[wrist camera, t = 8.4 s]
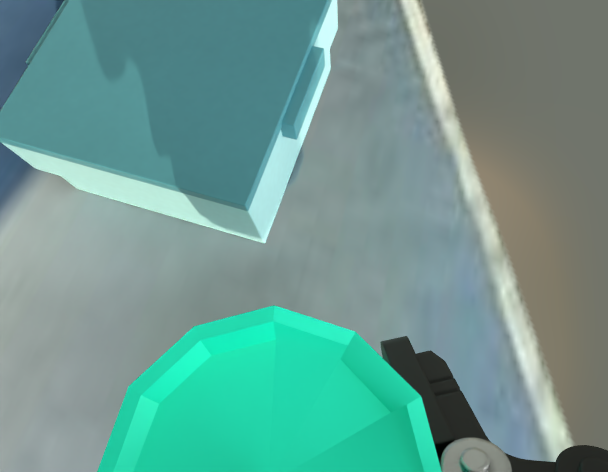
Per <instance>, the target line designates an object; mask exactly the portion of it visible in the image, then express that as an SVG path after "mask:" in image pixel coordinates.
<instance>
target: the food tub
mask: <svg viewBox="0 0 608 472" xmlns="http://www.w3.org/2000/svg"><path fill="white" fill-rule="evenodd" d="M337 29H338V18H337V0H64V1H63V3H62V5H61V6H60V8H59V9H58V11H57V13H56V14H55V16H54V17H53V19H52V21H51V22H50V24H49V25H48V27H47V29H46V30H45V32H44V33H43V35H42V37H41V38H40V40H39V41H38V43H37V45H36V46H35V48H34V49H33V51H32V52H31V54H30V56H29V57H28V59H27V60H26V63H27V64H28V67H27V69H26V70H25V72H24V73H23V75H22V77H21V78H20V80H19V81H18V83H17V85H16V86H15V88H14V90H13V91H12V93H11V94H10V96H9V98H8V99H7V101H6V102H5V104H4V106H3V107H2V109H1V110H0V142H1V143H3V144H4V145H5V146H7V147H8V148H9V149H11V150H12V151H13V152H14V153H16V154H17V155H18V156H20V157H21V158H22V159H24V160H25V161H26V162H28V163H29V164H30V165H32V166H33V167H34V168H35V169H38V170H42V171H45V172H49V173H52V174H56V175H59V176H61V177H63V178H64V179H65V180H66V181H68V182H69V183H70V184H71V185H73V186H74V187H75V188H76V189H79V190H82V191H86V192H89V193H93V194H96V195H100V196H103V197H106V198H110V199H113V200H117V201H120V202H124V203H127V204H130V205H134V206H137V207H141V208H144V209H148V210H151V211H155V212H158V213H161V214H165V215H168V216H172V217H175V218H179V219H182V220H185V221H189V222H192V223H196V224H199V225H203V226H206V227H209V228H213V229H216V230H220V231H223V232H227V233H230V234H233V235H237V236H240V237H244V238H247V239H251V240H254V241H258V242H261V243H265V242H266V239H267V237H268V234H269V231H270V229H271V226H272V223H273V221H274V218H275V215H276V213H277V210H278V207H279V205H280V202H281V200H282V197H283V194H284V192H285V189H286V186H287V184H288V181H289V178H290V176H291V173H292V170H293V168H294V165H295V162H296V160H297V157H298V154H299V152H300V149H301V146H302V144H303V141H304V138H305V136H306V133H307V130H308V128H309V125H310V122H311V120H312V117H313V114H314V112H315V109H316V106H317V104H318V101H319V98H320V96H321V93H322V91H323V88H324V85H325V83H326V80H327V77H328V75H329V72H330V69H331V65H330V47H331V45H332V42H333V39H334V37H335V34H336V31H337Z"/></svg>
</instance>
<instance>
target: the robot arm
mask: <svg viewBox="0 0 608 472" xmlns="http://www.w3.org/2000/svg"><path fill="white" fill-rule="evenodd" d="M381 350H382V356H383V359H384V360H385V361H386V362H387V363H388V364H389V365H390V366H391V367H392V368H393V369H394V370H395V371H396V372H397V373H398V374H399V375H400V376H401V377H402V378H403V379H404V380H405V381H406V382H407V383H408V384H409V385H410V386H411V387H412V388H413V389H414V390H415V391H416V392H417V393H418V394H419V395H420V396H421V397H422V401H423V404H424V408H425V412H426V415H427V419H428V423H429V427H430V430H431V434H432V438H433V441H434V445H435V449H436V452H437V456H438V460H439V463H440V467H441V471H442V472H608V451H607V450H604V449H602V448H598V447H594V446H587V445H580V446H573V447H570V448H567V449H565V450H564V451H562V452H561V453H560V454H559V456H558V457H557V460H556V462H545V461H533V460H524V459H520V458H516V457H513V456H511V455H508V454H506V453H504V452H503V451H502V450H501V449H500V448H499V447H498V446H496V445H495V444H493V443H491V442H490V441H489V439H488V438H487V436H486V435H485V433H484V431H483V429H482V428H481V426H480V424H479V422H478V420H477V419H476V417H475V415H474V413H473V411H472V409H471V408H470V406H469V404H468V402H467V400H466V399H465V397H464V395H463V393H462V391H460V388H459V386H458V384H457V382H456V380H455V379H454V378H453V375H452V373H451V371H450V369H449V368H448V366H447V364H446V362H445V361H444V360H443V359H441V358H440V357H439V356H437V355H436V354H435V353H433V352H432V351H426V352H422V353H417V354H415V352H414V349H413V347H412V345H411V343H410V341H409V339H408V337H407V336H405V337H400V338H395V339H391V340H386V341H382V342H381Z"/></svg>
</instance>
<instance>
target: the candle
mask: <svg viewBox="0 0 608 472" xmlns="http://www.w3.org/2000/svg"><path fill="white" fill-rule="evenodd" d="M97 472H442V471H441V467H440V463H439V460H438V456H437V452H436V449H435V445H434V441H433V438H432V434H431V430H430V427H429V423H428V419H427V415H426V412H425V408H424V404H423V401H422V397H421V396H420V395H419V394H418V393H417V392H416V391H415V390H414V389H413V388H412V387H411V386H410V385H409V384H408V383H407V382H406V381H405V380H404V379H403V378H402V377H401V376H400V375H399V374H398V373H397V372H396V371H395V370H394V369H393V368H392V367H391V366H390V365H389V364H388V363H387V362H386V361H385V360H384V359H383V358H382V357H381V356H380V355H379V354H378V353H377V352H376V351H375V350H374V349H373V348H372V347H371V346H370V345H369V344H368V343H367V342H365V341H364V340H363V339H362V338H361V337H360V336H359V335H358V334H357V333H356V332H355V331H351V330H348V329H345V328H342V327H339V326H336V325H333V324H330V323H327V322H324V321H321V320H318V319H315V318H311V317H308V316H305V315H302V314H299V313H296V312H293V311H290V310H287V309H284V308H281V307H278V306H275V305H274V306H270V307H266V308H262V309H258V310H255V311H251V312H247V313H243V314H239V315H236V316H232V317H228V318H224V319H220V320H217V321H213V322H209V323H205V324H201V325H198V326H194V327H193V328H192V329H191V330H190V331H189V332H187V333H186V334H185V335H184V336H183V337H182V338H181V339H180V340H179V341H178V342H177V343H175V344H174V345H173V346H172V347H171V348H170V349H169V350H168V351H167V352H166V353H164V354H163V355H162V356H161V357H160V358H159V359H158V360H157V361H156V362H155V363H154V364H152V365H151V366H150V367H149V368H148V369H147V370H146V371H145V372H144V373H143V374H142V375H140V376H139V377H138V378H137V379H136V380H135V381H134V382H133V383H132V384H131V385H130V386H129V387H128V389H127V392H126V395H125V398H124V400H123V403H122V406H121V409H120V411H119V414H118V417H117V419H116V422H115V425H114V428H113V430H112V433H111V436H110V439H109V441H108V444H107V447H106V449H105V452H104V455H103V458H102V460H101V463H100V466H99V468H98V471H97Z"/></svg>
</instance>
